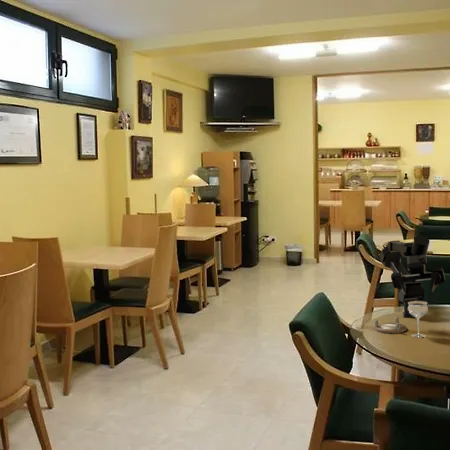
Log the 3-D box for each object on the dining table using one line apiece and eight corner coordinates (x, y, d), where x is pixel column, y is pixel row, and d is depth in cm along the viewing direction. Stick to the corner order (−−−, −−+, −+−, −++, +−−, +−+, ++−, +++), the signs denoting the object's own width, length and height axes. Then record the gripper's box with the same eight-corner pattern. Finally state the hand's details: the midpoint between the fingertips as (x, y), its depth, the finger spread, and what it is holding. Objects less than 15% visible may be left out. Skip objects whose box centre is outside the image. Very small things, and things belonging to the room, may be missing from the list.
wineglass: (416, 339, 197) (415, 306, 196) (404, 334, 203) (403, 302, 202) (432, 337, 199) (431, 303, 198) (421, 332, 205) (419, 300, 204)
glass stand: (375, 325, 218) (375, 316, 218) (405, 325, 215) (405, 316, 215) (375, 333, 208) (374, 324, 207) (406, 333, 205) (406, 324, 204)
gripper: (387, 252, 217) (387, 280, 205) (438, 245, 210) (441, 273, 198) (394, 274, 223) (394, 302, 211) (444, 268, 215) (446, 296, 203)
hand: (418, 293), depth 205 cm, fingers open, 9 cm apart
